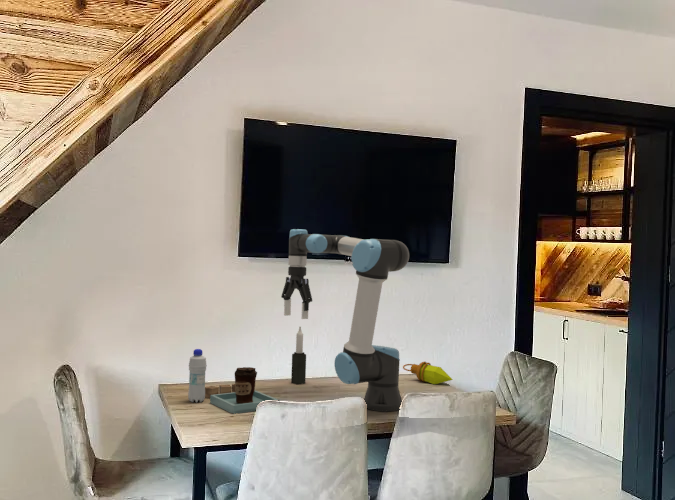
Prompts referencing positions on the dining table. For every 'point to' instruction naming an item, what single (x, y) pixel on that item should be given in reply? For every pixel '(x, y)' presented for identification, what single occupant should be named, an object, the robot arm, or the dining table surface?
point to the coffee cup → (245, 384)
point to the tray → (230, 405)
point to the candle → (298, 361)
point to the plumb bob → (429, 373)
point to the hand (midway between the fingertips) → (295, 317)
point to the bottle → (197, 376)
